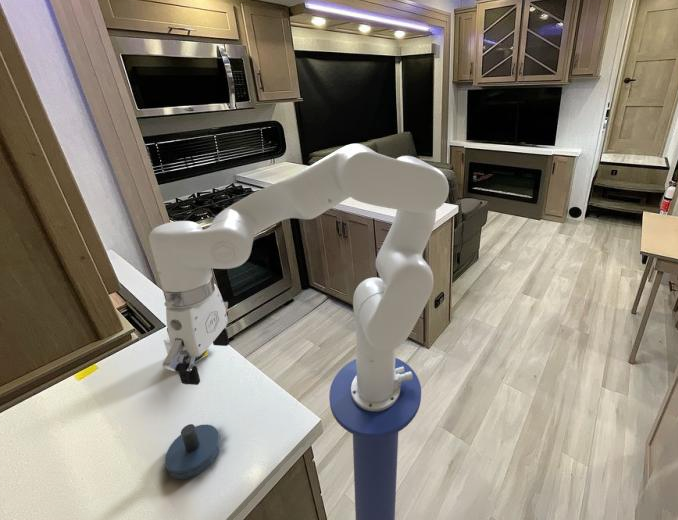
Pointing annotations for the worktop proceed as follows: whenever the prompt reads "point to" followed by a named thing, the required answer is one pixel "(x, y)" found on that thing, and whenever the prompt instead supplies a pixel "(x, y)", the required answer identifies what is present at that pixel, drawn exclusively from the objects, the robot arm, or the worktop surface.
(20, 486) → the worktop surface
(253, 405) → the worktop surface
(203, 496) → the worktop surface
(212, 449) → the blue disc with peg
